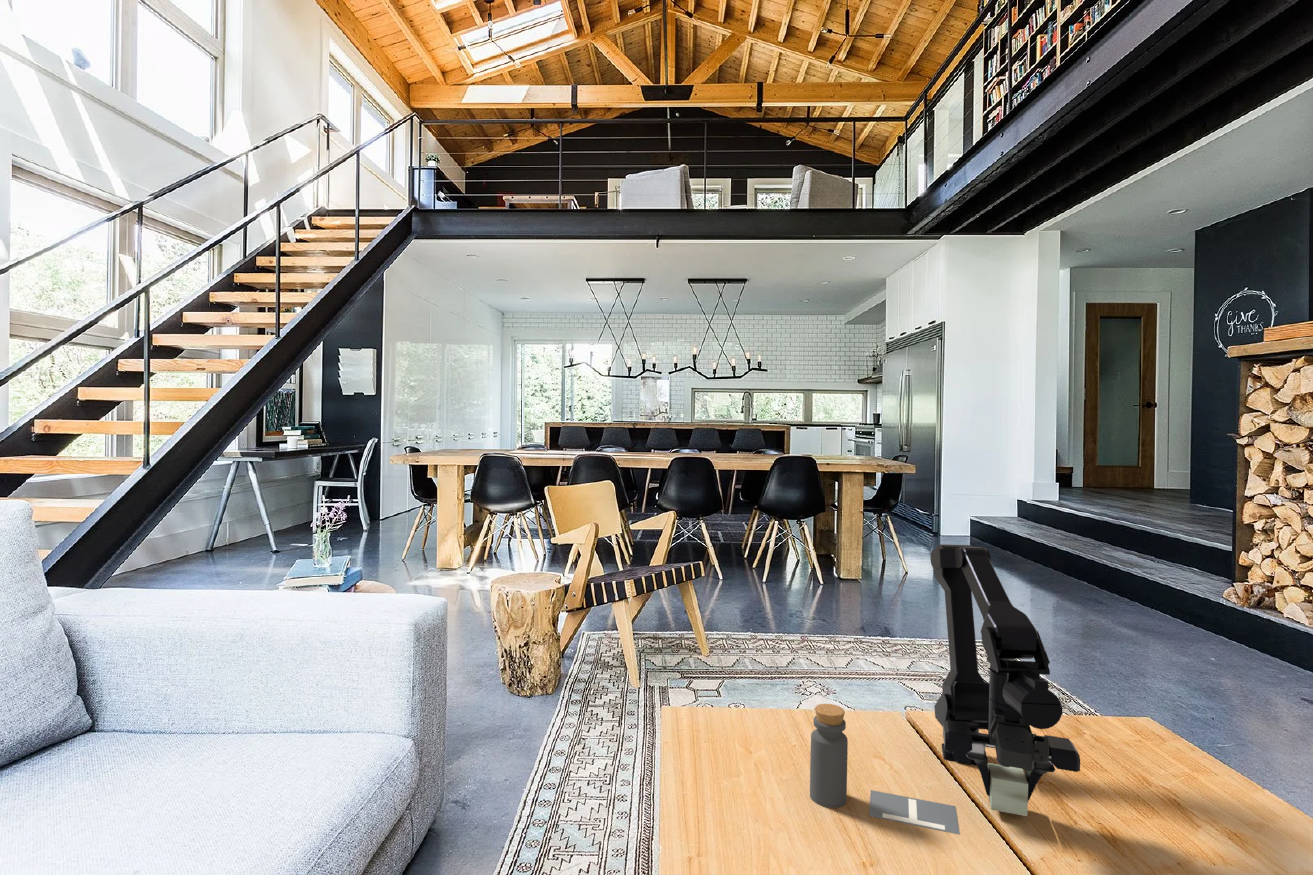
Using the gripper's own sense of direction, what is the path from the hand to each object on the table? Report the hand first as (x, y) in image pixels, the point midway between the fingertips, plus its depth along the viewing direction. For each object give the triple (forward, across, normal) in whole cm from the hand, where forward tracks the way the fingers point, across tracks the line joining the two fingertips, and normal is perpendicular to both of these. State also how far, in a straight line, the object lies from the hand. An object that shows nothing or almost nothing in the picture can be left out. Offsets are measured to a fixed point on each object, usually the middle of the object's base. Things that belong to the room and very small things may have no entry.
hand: (1006, 797), depth 106 cm
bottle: (+3, -27, -6) cm, 28 cm away
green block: (+1, 0, 0) cm, 1 cm away
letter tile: (+3, -14, -5) cm, 15 cm away
